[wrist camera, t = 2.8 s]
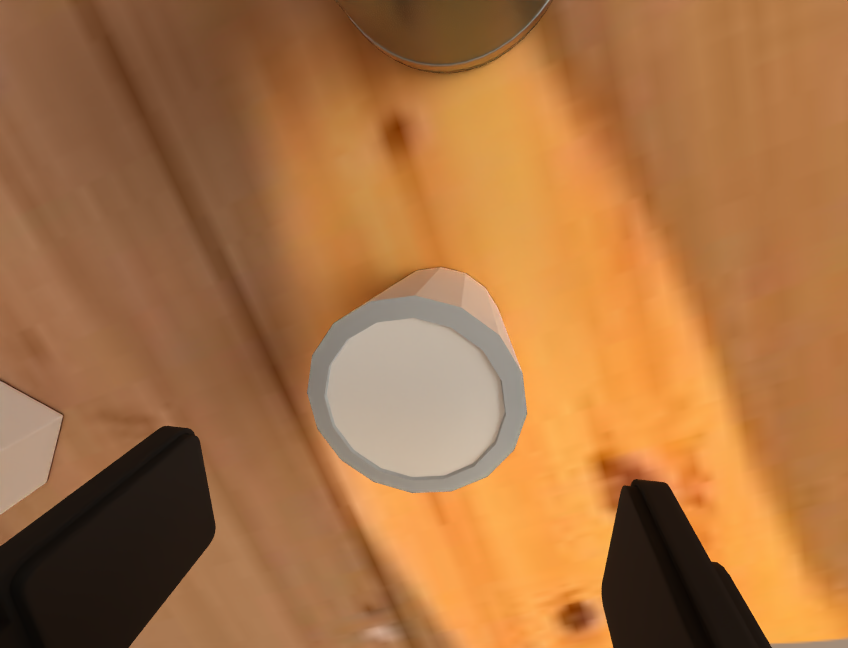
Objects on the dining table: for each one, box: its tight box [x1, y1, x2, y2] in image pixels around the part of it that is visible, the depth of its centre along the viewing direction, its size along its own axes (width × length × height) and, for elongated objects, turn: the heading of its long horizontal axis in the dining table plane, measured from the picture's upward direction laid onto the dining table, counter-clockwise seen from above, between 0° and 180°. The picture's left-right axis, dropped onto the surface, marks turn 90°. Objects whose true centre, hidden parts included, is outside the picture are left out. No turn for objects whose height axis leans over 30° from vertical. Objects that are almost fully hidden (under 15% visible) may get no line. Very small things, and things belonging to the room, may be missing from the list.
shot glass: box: [307, 267, 527, 493], centre depth 16 cm, size 7×7×7 cm
